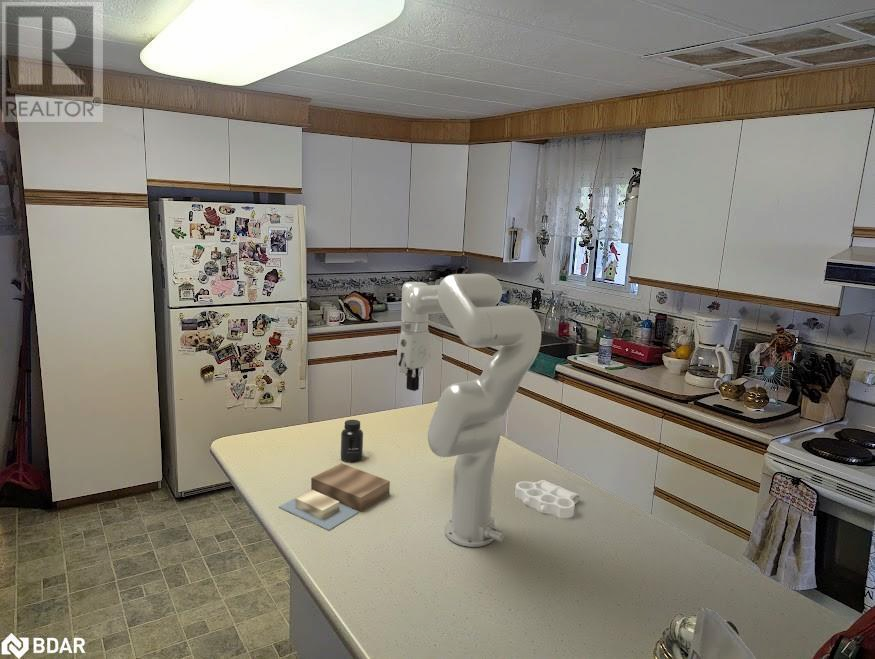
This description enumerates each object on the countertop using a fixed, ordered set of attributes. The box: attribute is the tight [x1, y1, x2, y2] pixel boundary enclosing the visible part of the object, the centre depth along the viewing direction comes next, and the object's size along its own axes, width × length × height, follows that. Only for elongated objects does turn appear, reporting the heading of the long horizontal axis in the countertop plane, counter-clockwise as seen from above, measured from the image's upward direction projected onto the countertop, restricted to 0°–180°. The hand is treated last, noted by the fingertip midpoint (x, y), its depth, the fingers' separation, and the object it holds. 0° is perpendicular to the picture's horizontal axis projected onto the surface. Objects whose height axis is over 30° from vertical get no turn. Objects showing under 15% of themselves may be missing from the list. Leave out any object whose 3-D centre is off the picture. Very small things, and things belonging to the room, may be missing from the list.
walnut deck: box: [310, 462, 391, 513], centre depth 164 cm, size 18×12×4 cm, turn 56°
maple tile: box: [294, 489, 339, 520], centre depth 154 cm, size 10×6×2 cm, turn 54°
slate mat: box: [278, 498, 360, 532], centre depth 154 cm, size 18×11×1 cm, turn 56°
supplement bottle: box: [340, 419, 364, 463], centre depth 185 cm, size 7×7×12 cm
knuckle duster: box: [514, 479, 581, 519], centre depth 163 cm, size 3×18×15 cm
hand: (412, 389), depth 169 cm, fingers closed
